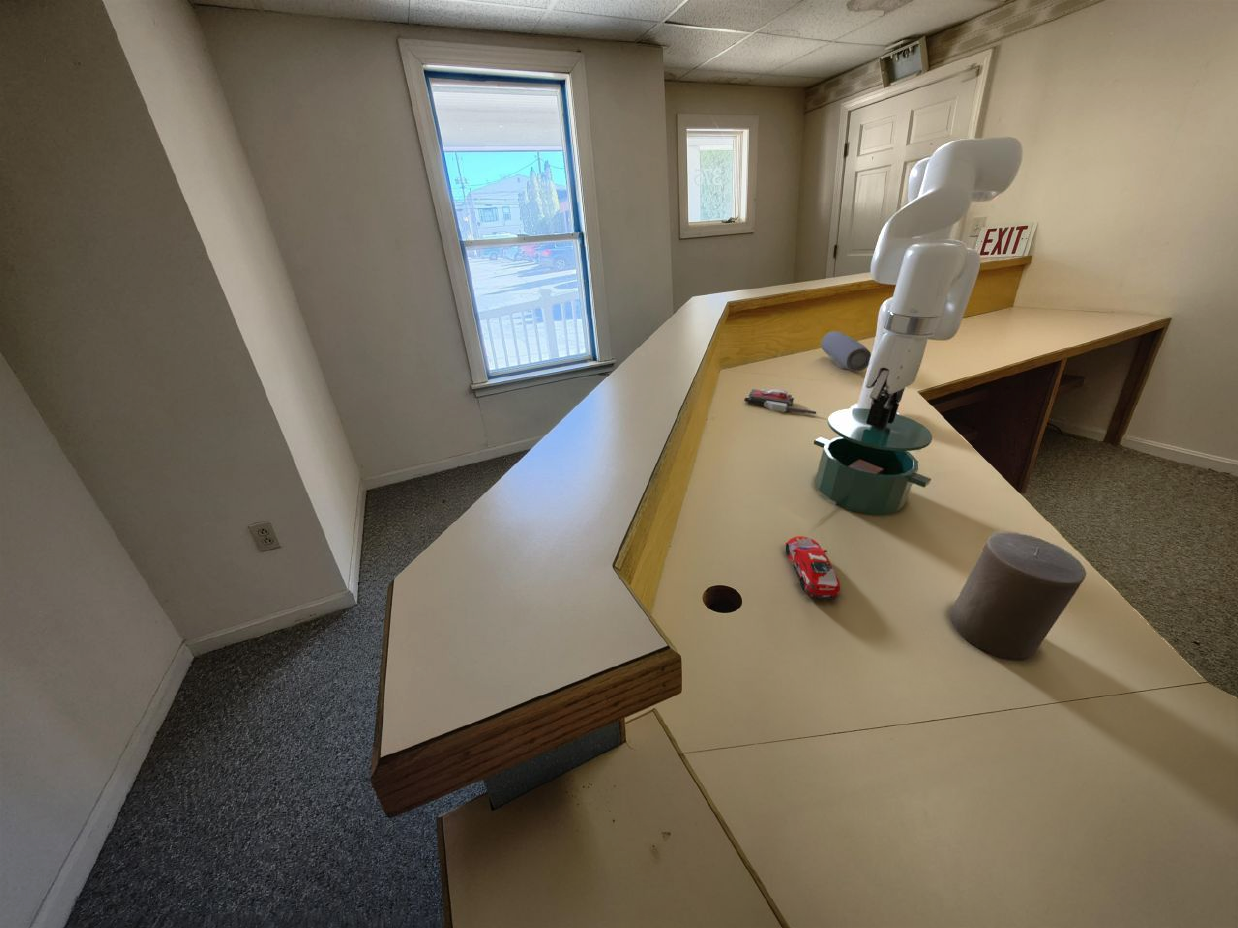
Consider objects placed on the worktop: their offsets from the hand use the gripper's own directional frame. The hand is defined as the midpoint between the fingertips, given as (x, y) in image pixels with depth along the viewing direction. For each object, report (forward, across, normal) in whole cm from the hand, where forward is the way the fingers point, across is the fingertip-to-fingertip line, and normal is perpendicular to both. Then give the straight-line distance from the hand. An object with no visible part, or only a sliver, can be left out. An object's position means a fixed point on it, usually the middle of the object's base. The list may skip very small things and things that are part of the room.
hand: (879, 422), depth 86 cm
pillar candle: (+16, +20, +29) cm, 38 cm away
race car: (+16, +29, +7) cm, 34 cm away
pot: (+15, 0, 0) cm, 15 cm away
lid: (+1, 0, 0) cm, 1 cm away
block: (+15, 0, 0) cm, 15 cm away
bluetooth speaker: (+15, -76, -45) cm, 90 cm away
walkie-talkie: (+15, -25, -36) cm, 47 cm away
